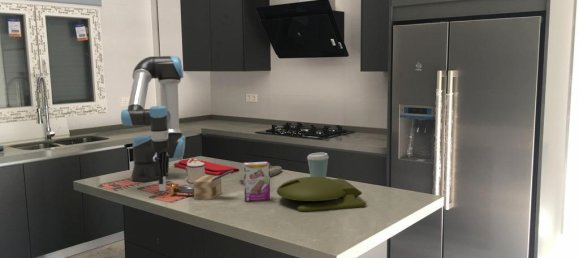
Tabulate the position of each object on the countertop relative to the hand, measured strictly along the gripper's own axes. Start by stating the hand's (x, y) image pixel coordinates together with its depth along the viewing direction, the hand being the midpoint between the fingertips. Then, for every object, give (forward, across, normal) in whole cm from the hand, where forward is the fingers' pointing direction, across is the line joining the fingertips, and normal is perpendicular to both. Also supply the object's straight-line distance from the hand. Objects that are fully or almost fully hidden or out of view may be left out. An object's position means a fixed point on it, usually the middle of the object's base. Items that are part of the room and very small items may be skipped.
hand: (162, 190), depth 225 cm
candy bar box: (+2, 0, -46) cm, 46 cm away
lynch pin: (+2, 0, -12) cm, 12 cm away
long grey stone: (+3, +41, -34) cm, 54 cm away
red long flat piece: (+3, +55, +4) cm, 56 cm away
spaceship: (+3, +5, -72) cm, 72 cm away
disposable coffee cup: (+2, +34, -66) cm, 74 cm away
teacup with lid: (+2, +27, -3) cm, 27 cm away
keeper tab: (-8, 0, -30) cm, 31 cm away
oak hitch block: (+2, +2, -22) cm, 22 cm away
